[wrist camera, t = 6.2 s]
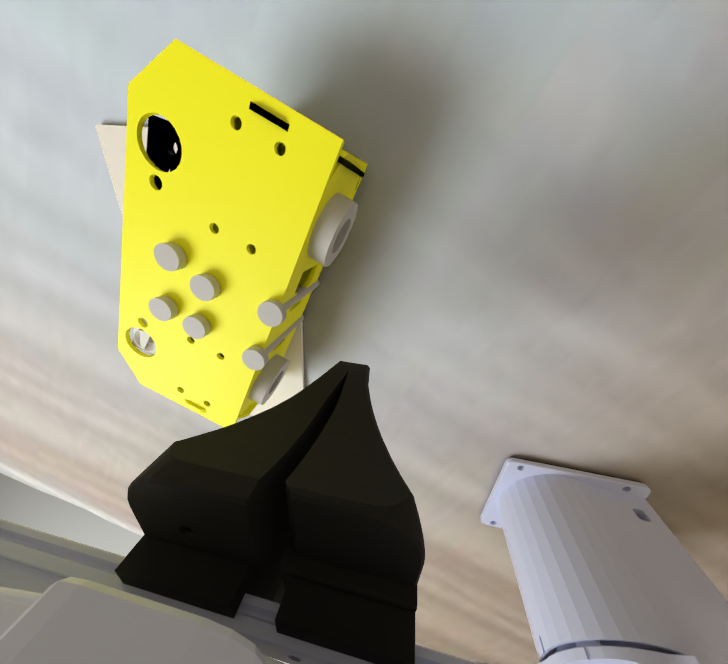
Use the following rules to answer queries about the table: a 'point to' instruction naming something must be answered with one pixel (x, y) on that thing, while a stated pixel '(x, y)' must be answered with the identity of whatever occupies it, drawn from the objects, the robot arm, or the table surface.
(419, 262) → the table surface
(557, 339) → the table surface
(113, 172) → the felt pad
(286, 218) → the yellow toy chassis
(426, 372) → the table surface
